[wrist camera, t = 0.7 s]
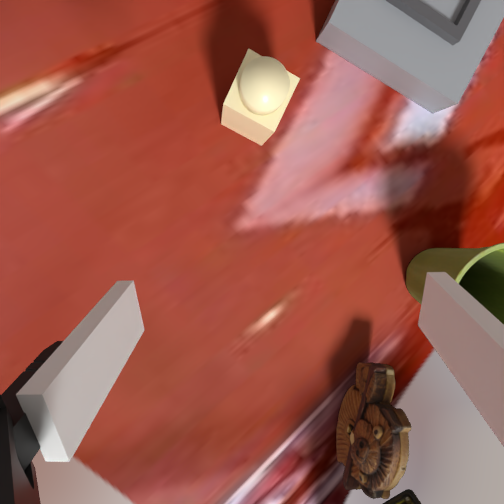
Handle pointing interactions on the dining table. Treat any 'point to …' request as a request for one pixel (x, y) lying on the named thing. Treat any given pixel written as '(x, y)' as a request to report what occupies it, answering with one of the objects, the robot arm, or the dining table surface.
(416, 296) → the plant pot
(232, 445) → the dining table surface
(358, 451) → the wooden carving
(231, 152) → the dining table surface
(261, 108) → the dome-topped cream pillar
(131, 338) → the robot arm
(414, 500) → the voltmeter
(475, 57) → the ball-topped post base
